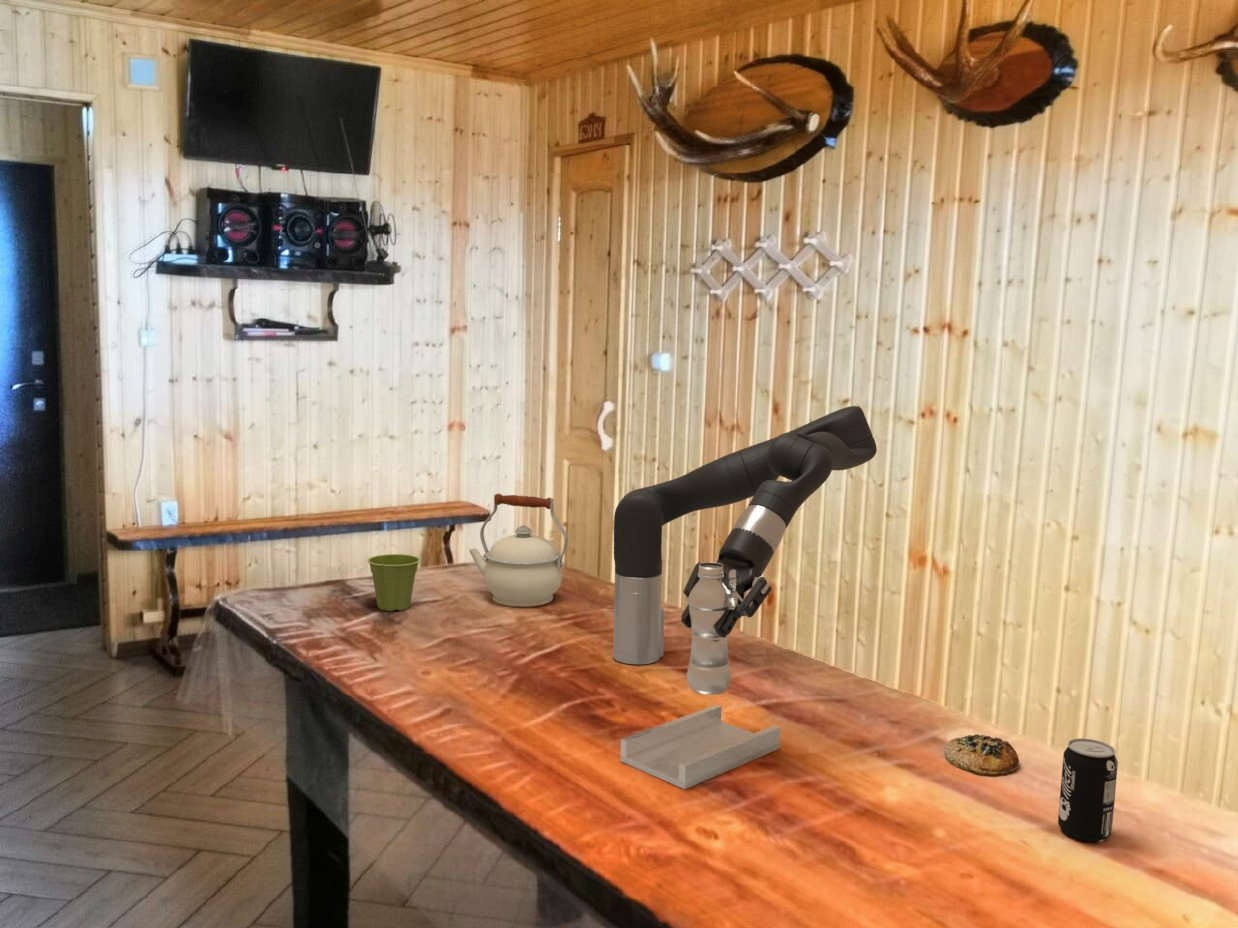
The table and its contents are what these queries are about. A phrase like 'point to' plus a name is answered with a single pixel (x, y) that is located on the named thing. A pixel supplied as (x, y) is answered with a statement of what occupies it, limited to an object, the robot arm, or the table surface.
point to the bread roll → (982, 754)
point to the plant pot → (393, 580)
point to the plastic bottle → (708, 632)
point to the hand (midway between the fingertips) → (702, 629)
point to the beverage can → (1088, 790)
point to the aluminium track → (696, 747)
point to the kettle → (521, 560)
